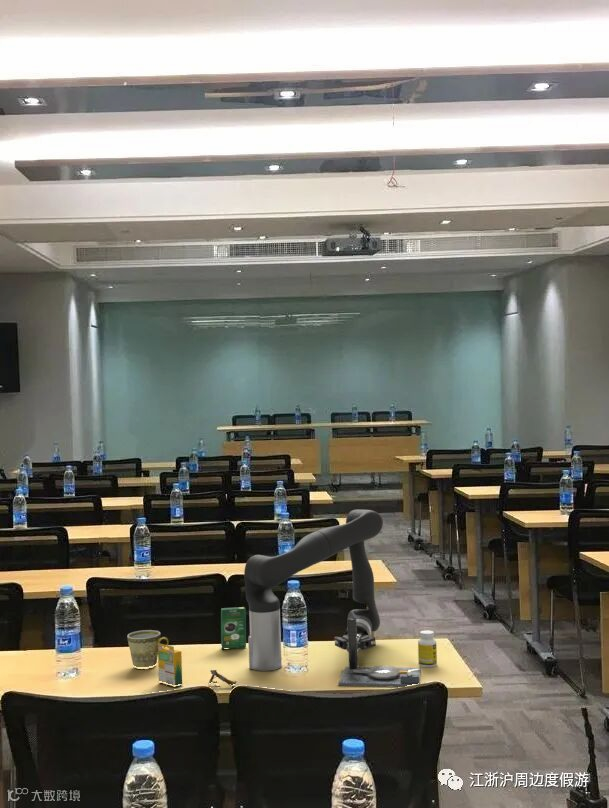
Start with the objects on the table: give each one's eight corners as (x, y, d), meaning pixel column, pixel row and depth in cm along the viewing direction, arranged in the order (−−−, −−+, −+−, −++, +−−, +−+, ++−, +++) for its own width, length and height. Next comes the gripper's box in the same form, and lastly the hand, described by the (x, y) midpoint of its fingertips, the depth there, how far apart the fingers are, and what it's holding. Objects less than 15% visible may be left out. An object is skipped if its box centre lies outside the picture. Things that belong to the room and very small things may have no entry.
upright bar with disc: (415, 671, 243) (413, 618, 243) (407, 681, 234) (405, 626, 235) (354, 667, 249) (352, 615, 250) (344, 676, 241) (342, 622, 241)
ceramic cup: (122, 671, 257) (121, 638, 257) (136, 661, 266) (135, 629, 267) (162, 673, 254) (161, 639, 254) (175, 663, 263) (174, 630, 263)
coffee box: (245, 645, 281) (244, 605, 281) (247, 648, 278) (245, 607, 278) (221, 648, 279) (219, 607, 279) (222, 650, 276) (221, 609, 276)
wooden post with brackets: (207, 681, 242) (213, 667, 241) (231, 694, 239) (236, 680, 239) (204, 683, 240) (210, 668, 239) (228, 696, 237) (234, 682, 237)
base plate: (338, 685, 236) (338, 671, 236) (345, 669, 251) (344, 656, 251) (419, 687, 232) (418, 672, 233) (420, 670, 247) (420, 657, 247)
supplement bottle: (436, 668, 249) (435, 634, 249) (418, 667, 250) (416, 634, 250) (437, 662, 254) (436, 629, 255) (419, 662, 256) (418, 629, 256)
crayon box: (183, 685, 241) (181, 644, 241) (174, 688, 239) (173, 646, 239) (166, 680, 246) (165, 640, 246) (158, 683, 244) (157, 642, 244)
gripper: (336, 621, 264) (328, 636, 247) (379, 621, 262) (374, 637, 245) (337, 645, 264) (329, 662, 247) (380, 646, 262) (375, 663, 245)
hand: (351, 649), depth 246 cm, fingers closed
